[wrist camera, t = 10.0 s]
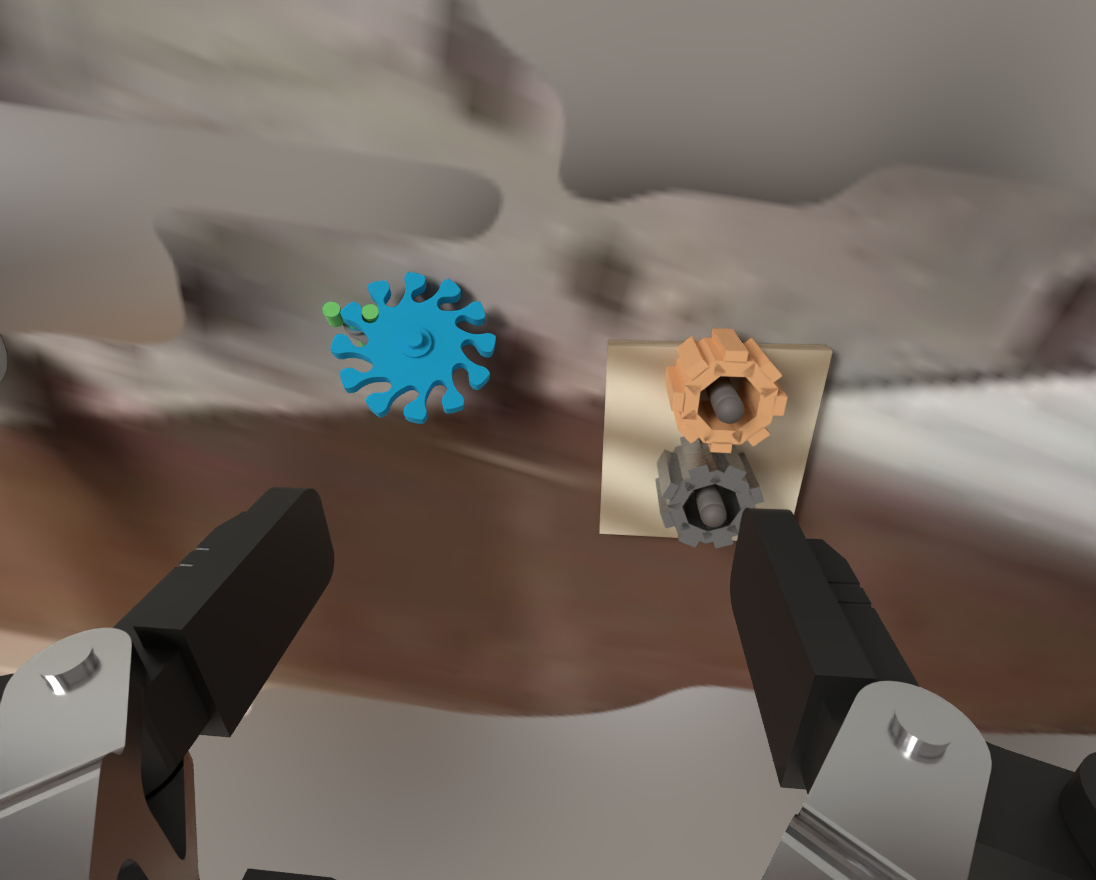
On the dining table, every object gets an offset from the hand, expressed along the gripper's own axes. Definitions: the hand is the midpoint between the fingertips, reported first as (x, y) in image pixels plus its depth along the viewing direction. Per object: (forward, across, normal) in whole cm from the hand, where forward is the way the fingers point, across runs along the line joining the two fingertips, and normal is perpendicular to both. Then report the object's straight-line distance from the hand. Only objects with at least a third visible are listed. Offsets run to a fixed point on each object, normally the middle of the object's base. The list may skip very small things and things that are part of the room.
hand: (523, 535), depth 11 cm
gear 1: (+26, -9, +7) cm, 29 cm away
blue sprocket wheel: (+28, +11, +4) cm, 30 cm away
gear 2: (+26, -9, +14) cm, 31 cm away
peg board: (+27, -9, +12) cm, 31 cm away
